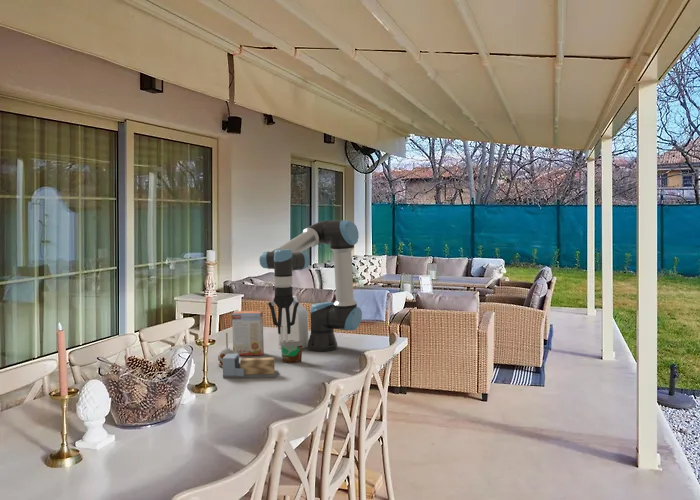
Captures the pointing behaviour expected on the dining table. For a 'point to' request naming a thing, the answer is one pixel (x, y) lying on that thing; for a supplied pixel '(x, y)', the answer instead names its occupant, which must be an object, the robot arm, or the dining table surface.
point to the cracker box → (248, 332)
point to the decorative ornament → (224, 352)
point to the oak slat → (258, 365)
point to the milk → (296, 324)
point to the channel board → (239, 369)
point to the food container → (291, 351)
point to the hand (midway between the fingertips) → (284, 341)
